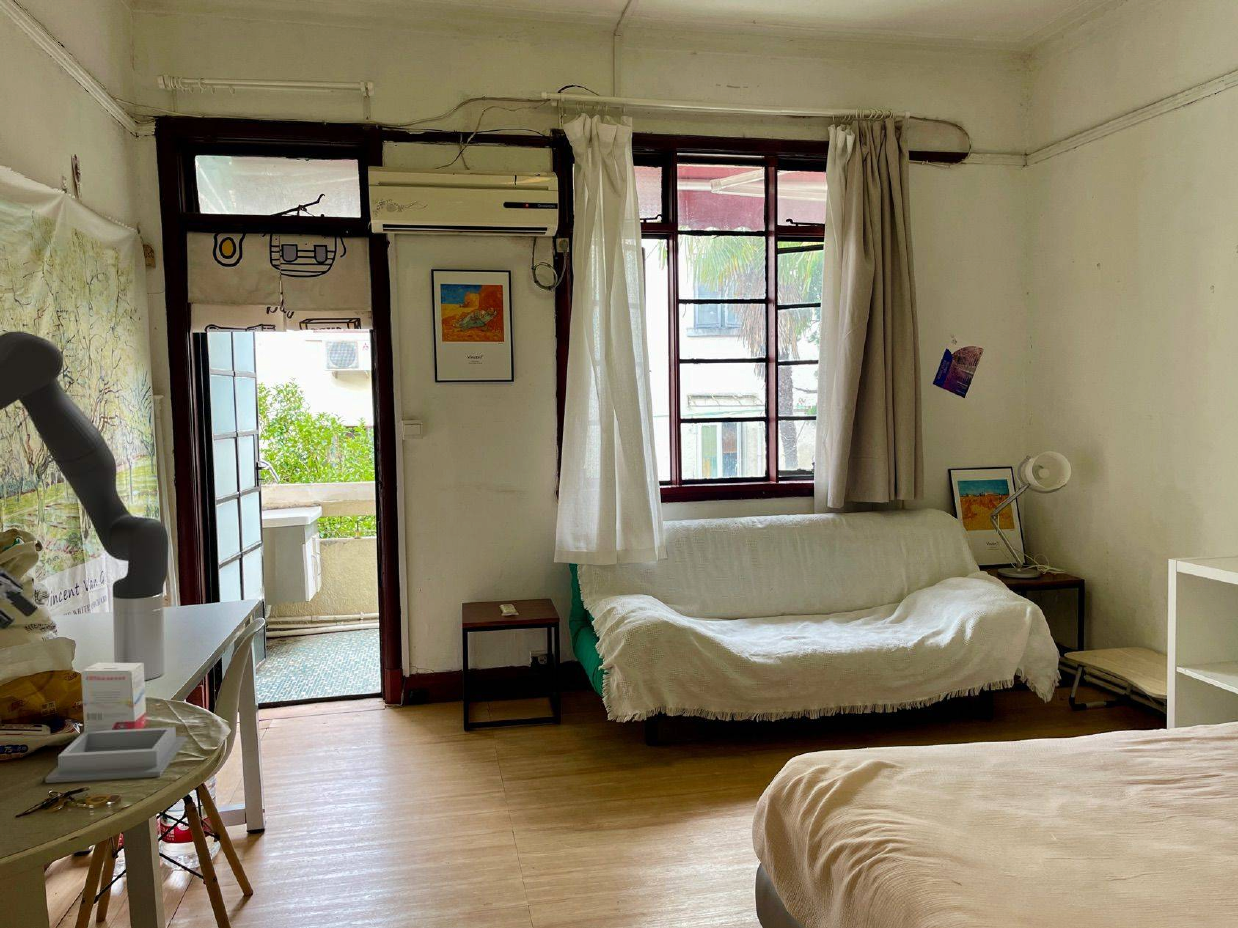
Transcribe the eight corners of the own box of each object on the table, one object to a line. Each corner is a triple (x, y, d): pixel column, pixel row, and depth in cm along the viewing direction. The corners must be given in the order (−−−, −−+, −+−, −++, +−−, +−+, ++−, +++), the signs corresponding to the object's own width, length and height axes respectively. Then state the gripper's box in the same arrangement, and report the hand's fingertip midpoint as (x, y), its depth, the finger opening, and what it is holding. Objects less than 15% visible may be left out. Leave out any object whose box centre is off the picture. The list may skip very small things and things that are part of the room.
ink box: (148, 726, 156) (146, 661, 155) (133, 737, 151) (132, 670, 150) (97, 726, 156) (96, 661, 155) (81, 737, 151) (80, 670, 150)
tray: (82, 746, 147) (82, 727, 147) (185, 741, 150) (185, 722, 150) (45, 782, 133) (45, 761, 133) (159, 776, 136) (159, 755, 136)
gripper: (-63, 543, 139) (19, 613, 142) (-18, 530, 153) (57, 593, 156) (-100, 576, 138) (-17, 646, 142) (-51, 560, 152) (24, 624, 155)
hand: (21, 618), depth 149 cm, fingers open, 8 cm apart
